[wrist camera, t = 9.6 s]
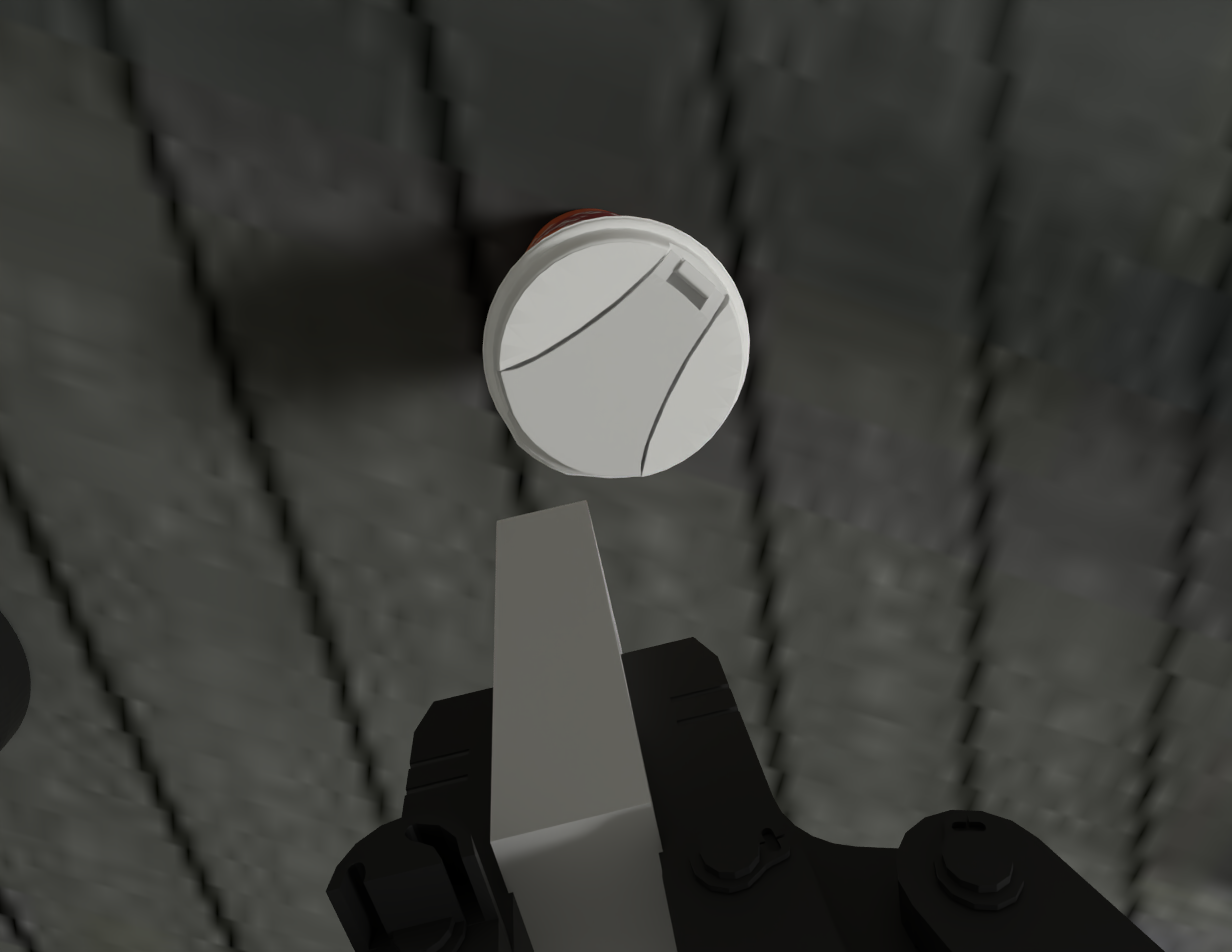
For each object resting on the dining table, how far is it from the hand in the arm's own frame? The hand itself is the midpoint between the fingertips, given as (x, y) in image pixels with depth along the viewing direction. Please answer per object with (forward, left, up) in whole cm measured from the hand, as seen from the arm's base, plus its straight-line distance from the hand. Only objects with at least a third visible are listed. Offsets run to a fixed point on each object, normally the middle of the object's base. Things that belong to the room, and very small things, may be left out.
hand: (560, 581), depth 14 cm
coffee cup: (+2, 0, -27) cm, 27 cm away
